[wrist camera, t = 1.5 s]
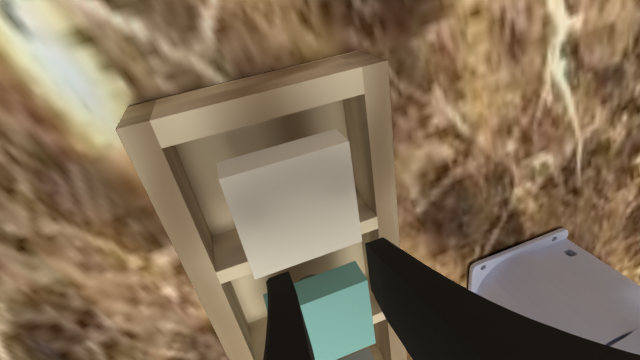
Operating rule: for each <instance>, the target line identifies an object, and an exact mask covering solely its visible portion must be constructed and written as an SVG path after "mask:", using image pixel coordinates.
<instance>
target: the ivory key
mask: <svg viewBox="0 0 640 360" xmlns="http://www.w3.org/2000/svg"><path fill="white" fill-rule="evenodd" d="M216 166H217V173H218V179H219V182H220V185H221V188H222V191H223V193H224V196H225V199H226V202H227V204H228V207H229V210H230V213H231V215H232V218H233V221H234V224H235V226H236V229H237V232H238V235H239V237H240V240H241V243H242V246H243V248H244V251H245V254H246V257H247V259H248V262H249V265H250V268H251V271H252V273H253V276H254V279H258V278H261V277H264V276H266V275H269V274H272V273H275V272H278V271H280V270H283V269H286V268H289V267H292V266H294V265H297V264H300V263H303V262H306V261H308V260H311V259H314V258H317V257H320V256H322V255H325V254H328V253H331V252H334V251H336V250H339V249H342V248H345V247H347V246H350V245H353V244H356V243H359V242H361V241H362V235H361V228H360V220H359V213H358V205H357V198H356V190H355V183H354V175H353V168H352V160H351V153H350V145H349V141H348V140H347V139H346V138H345V137H344V136H343V135H342V134H340V133H339V132H338V131H337V130H336V129H333V130H329V131H326V132H322V133H319V134H315V135H312V136H308V137H305V138H301V139H298V140H294V141H291V142H287V143H284V144H280V145H277V146H273V147H270V148H266V149H263V150H259V151H256V152H252V153H249V154H245V155H242V156H238V157H235V158H231V159H228V160H224V161H221V162H217V163H216Z"/></svg>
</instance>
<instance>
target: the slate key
mask: <svg viewBox="0 0 640 360" xmlns="http://www.w3.org/2000/svg"><path fill="white" fill-rule="evenodd" d="M337 360H375V359H374V357H373V355H372V353H371V351H370V349H369V348H366V349H364V350H362V351H359V352H357V353H354V354H352V355H350V356H347V357H345V358H342V357H341V358H339V359H337Z"/></svg>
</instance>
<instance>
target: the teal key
mask: <svg viewBox="0 0 640 360" xmlns="http://www.w3.org/2000/svg"><path fill="white" fill-rule="evenodd" d="M293 284H294V286H295V289H296V293H297V296H298V300H299V303H300V307H301V310H302V314H303V317H304V321H305V324H306V328H307V331H308V335H309V338H310V342H311V345H312V349H313V353H314V357H315V360H337V359H339V358H341V357H344V356H346V355H349V354H351V353H353V352H356V351H358V350H360V349H363V348H365V347H368V346H370V345H372V344H375V343H376V340H375V333H374V325H373V318H372V310H371V303H370V295H369V288H368V280H367V279H366V277H365V275H364V274H363V272H362V271H361V269H360V267H359V266H358V264H357V263H356V261H353V262H350V263H348V264H345V265H342V266H339V267H337V268H334V269H331V270H328V271H326V272H323V273H320V274H318V275H316V274H311V275H307V276H305V277H303V278H301V279H300V280H298V281H297V282H296V283H293ZM263 297H264V301H265V305H266V309H267V312H268V296H267V293H266V294H263Z"/></svg>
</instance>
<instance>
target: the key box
mask: <svg viewBox="0 0 640 360" xmlns="http://www.w3.org/2000/svg"><path fill="white" fill-rule="evenodd" d="M333 129H336V130H337V131H338V132H339V133H340V134H342V135H343V136H344V137H345V138H346V139H347V140H348V141H349V145H350V153H351V160H352V168H353V175H354V183H355V190H356V198H357V205H358V213H359V220H360V228H361V235H362V241H361V242H359V243H356V244H353V245H350V246H347V247H345V248H342V249H339V250H336V251H334V252H331V253H328V254H325V255H322V256H320V257H317V258H314V259H311V260H308V261H306V262H303V263H300V264H297V265H294V266H292V267H289V268H286V269H283V270H280V271H278V272H275V273H272V274H269V275H266V276H264V277H261V278H258V279H254V276H253V273H252V271H251V268H250V265H249V262H248V259H247V257H246V254H245V251H244V248H243V246H242V243H241V240H240V237H239V235H238V232H237V229H236V226H235V224H234V221H233V218H232V215H231V213H230V210H229V207H228V204H227V202H226V199H225V196H224V193H223V191H222V188H221V185H220V182H219V179H218V173H217V166H216V163H217V162H221V161H224V160H228V159H231V158H235V157H238V156H242V155H245V154H249V153H252V152H256V151H259V150H263V149H266V148H270V147H273V146H277V145H280V144H284V143H287V142H291V141H294V140H298V139H301V138H305V137H308V136H312V135H315V134H319V133H322V132H326V131H329V130H333ZM115 130H116V132H117V134H118V136H119V138H120V140H121V142H122V144H123V146H124V148H125V150H126V152H127V154H128V156H129V158H130V160H131V162H132V164H133V166H134V168H135V170H136V172H137V174H138V176H139V178H140V180H141V182H142V184H143V186H144V188H145V190H146V192H147V194H148V196H149V198H150V200H151V202H152V204H153V206H154V208H155V210H156V212H157V214H158V216H159V218H160V220H161V222H162V224H163V226H164V228H165V231H166V233H167V235H168V237H169V239H170V241H171V243H172V245H173V247H174V249H175V251H176V253H177V255H178V257H179V259H180V261H181V263H182V265H183V267H184V269H185V271H186V273H187V275H188V277H189V279H190V281H191V283H192V285H193V287H194V289H195V291H196V293H197V295H198V297H199V299H200V301H201V303H202V305H203V307H204V309H205V311H206V313H207V315H208V317H209V319H210V321H211V323H212V325H213V327H214V330H215V332H216V334H217V336H218V338H219V340H220V342H221V344H222V346H223V348H224V350H225V352H226V354H227V356H228V358H229V360H263V357H264V350H265V341H266V329H267V309H266V305H265V301H264V297H263V294H266V293H267V285H266V281H267V280H268V279H269V278H270V277H273V276H276V275H279V274H281V273H284V272H287V271H289V273H290V276H291V279H292V281H293V283H296V282H297V281H298V280H300V279H301V278H303V277H305V276H307V275H311V274H316V275H318V274H320V273H323V272H326V271H328V270H331V269H334V268H337V267H339V266H342V265H345V264H348V263H350V262H353V261H356V263H357V264H358V266H359V267H360V269H361V271H362V272H363V274H364V275H365V277H366V279H367V280H368V288H369V295H370V303H371V310H372V318H373V325H374V333H375V340H376V343H375V344H372V345H370V346H368V347H365V348H363V349H360V350H358V351H356V352H353V353H351V354H349V355H346V356H344V357H342V358H345V357H347V356H350V355H352V354H354V353H357V352H359V351H362V350H364V349H366V348H369V349H370V351H371V353H372V355H373V357H374V359H375V360H407V355H406V348H405V347H404V345H403V344H402V342H401V341H400V339H399V338H398V336H397V335H396V333H395V332H394V330H393V329H392V327H391V326H390V324H389V323H388V321H387V320H386V318H385V316H384V314H383V312H382V311H381V309H380V307H379V305H378V303H377V301H376V299H375V297H374V295H373V293H372V291H371V287H370V279H369V272H368V264H367V256H366V248H365V243H368V242H370V241H373V240H376V239H379V238H382V237H383V238H385V239H387V240H388V241H390V242H391V243H393V244H394V245H396V246H397V247H399V248H400V244H399V228H398V212H397V196H396V180H395V164H394V149H393V133H392V117H391V101H390V85H389V69H388V60H385V59H382V58H379V57H376V56H373V55H370V54H367V53H364V52H361V51H358V50H357V51H353V52H349V53H345V54H341V55H337V56H333V57H329V58H324V59H320V60H316V61H312V62H308V63H304V64H300V65H296V66H291V67H287V68H283V69H279V70H275V71H271V72H267V73H263V74H258V75H254V76H250V77H246V78H242V79H238V80H234V81H230V82H225V83H221V84H217V85H213V86H209V87H205V88H201V89H197V90H193V91H188V92H184V93H180V94H176V95H172V96H168V97H164V98H160V99H155V100H151V101H147V102H143V103H139V104H135V105H131V106H128V108H127V110H126V111H125V113H124V115H123V117H122V119H121V120H120V122H119V124H118V126H117V127H116V129H115Z"/></svg>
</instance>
